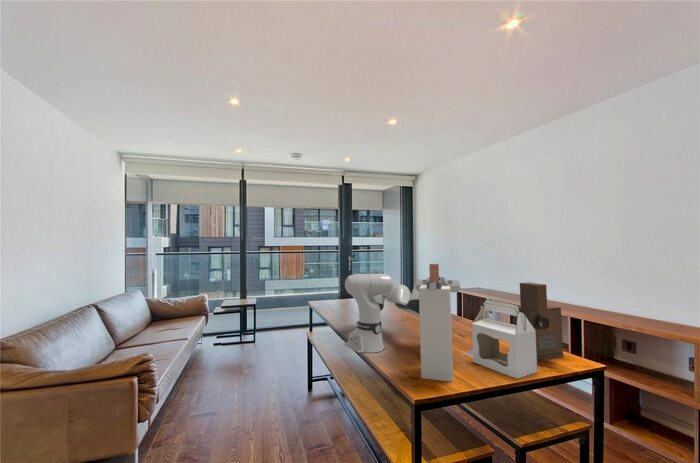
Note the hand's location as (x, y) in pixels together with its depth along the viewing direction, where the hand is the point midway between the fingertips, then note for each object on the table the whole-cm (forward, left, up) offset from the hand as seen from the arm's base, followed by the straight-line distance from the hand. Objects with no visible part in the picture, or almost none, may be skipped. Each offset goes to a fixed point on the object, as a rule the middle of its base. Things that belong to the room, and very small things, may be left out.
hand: (436, 278), depth 143 cm
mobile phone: (+5, +28, -39) cm, 48 cm away
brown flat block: (+5, -9, -2) cm, 11 cm away
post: (+6, -10, -38) cm, 40 cm away
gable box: (+21, +18, -39) cm, 47 cm away
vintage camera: (+27, +42, -39) cm, 63 cm away
